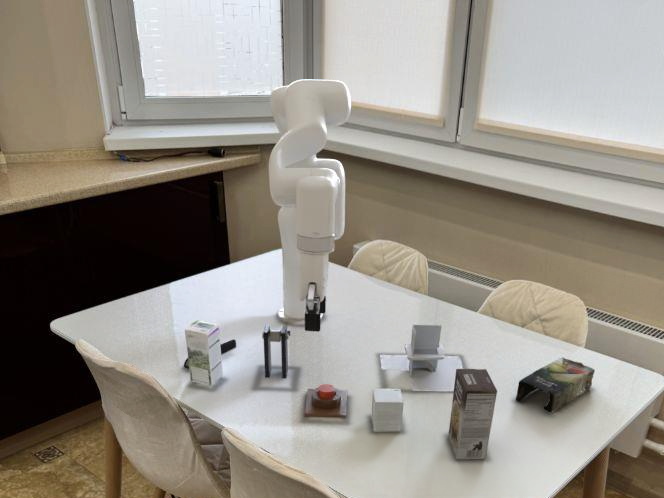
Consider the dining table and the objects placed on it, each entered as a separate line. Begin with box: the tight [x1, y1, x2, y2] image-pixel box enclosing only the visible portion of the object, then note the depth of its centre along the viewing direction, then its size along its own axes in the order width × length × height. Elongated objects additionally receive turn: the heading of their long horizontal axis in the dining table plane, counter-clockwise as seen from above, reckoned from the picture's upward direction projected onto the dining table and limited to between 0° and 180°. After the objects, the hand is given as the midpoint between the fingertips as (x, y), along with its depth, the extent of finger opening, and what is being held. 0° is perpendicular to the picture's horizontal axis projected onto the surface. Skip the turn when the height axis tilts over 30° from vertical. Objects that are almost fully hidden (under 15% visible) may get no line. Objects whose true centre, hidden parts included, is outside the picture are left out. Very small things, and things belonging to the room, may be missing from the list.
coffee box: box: [448, 368, 498, 460], centre depth 139 cm, size 9×6×16 cm
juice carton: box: [515, 356, 595, 414], centre depth 162 cm, size 20×10×6 cm, turn 136°
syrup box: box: [184, 320, 224, 387], centre depth 158 cm, size 6×6×14 cm
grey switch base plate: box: [379, 324, 465, 393], centre depth 168 cm, size 19×21×12 cm
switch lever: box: [270, 329, 291, 343], centre depth 164 cm, size 12×5×2 cm, turn 0°
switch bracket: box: [261, 324, 290, 379], centre depth 162 cm, size 11×9×13 cm
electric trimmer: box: [183, 338, 237, 372], centre depth 171 cm, size 4×16×3 cm, turn 142°
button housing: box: [303, 387, 348, 419], centre depth 153 cm, size 11×9×4 cm
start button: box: [317, 383, 336, 398], centre depth 152 cm, size 4×4×2 cm
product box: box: [370, 388, 405, 433], centre depth 148 cm, size 6×6×7 cm
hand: (315, 321), depth 148 cm, fingers open, 9 cm apart
